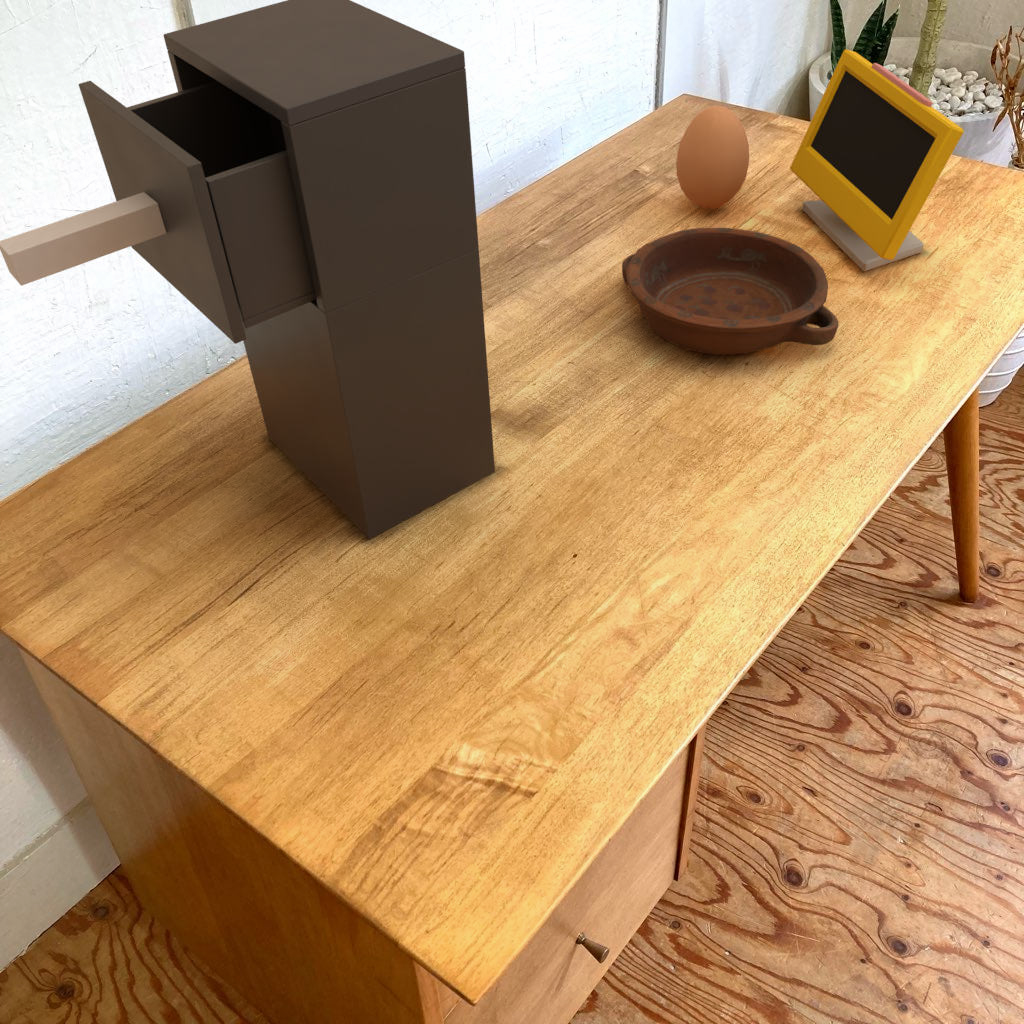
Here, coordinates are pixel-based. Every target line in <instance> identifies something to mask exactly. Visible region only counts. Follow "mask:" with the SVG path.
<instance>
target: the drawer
mask: <svg viewBox="0 0 1024 1024" xmlns="http://www.w3.org/2000/svg"><path fill="white" fill-rule="evenodd" d="M78 88H79V91H80V93H81V97H82V100H83V103H84V106H85V109H86V113H87V115H88V118H89V122H90V124H91V127H92V131H93V134H94V137H95V140H96V143H97V146H98V149H99V152H100V156H101V159H102V162H103V164H104V167H105V170H106V173H107V176H108V180H109V183H110V186H111V190H112V192H113V195H114V198H115V201H114V202H113V201H112V202H111V203H110V202H109V203H107V204H105V205H102V206H98V207H96V208H93V209H89V210H86V211H84V212H82V213H81V212H80V213H78V214H75V215H73V216H69V217H67V218H64V219H61V220H58V221H55V222H52V223H49V224H46V225H42V226H40V227H37V228H34V229H31V230H28V231H25V232H22V233H19V234H17V235H14V236H11V237H8V238H4V239H2V240H0V254H1V255H2V257H3V260H4V262H5V265H6V268H7V270H8V272H9V274H10V275H11V276H12V277H13V278H14V280H15V281H16V282H17V283H18V284H19V285H20V286H26V285H27V284H30V283H33V282H35V281H36V282H37V281H38V280H42V279H44V278H47V277H50V276H52V275H55V274H57V273H61V272H63V271H67V270H69V269H71V268H74V267H77V266H80V265H83V264H86V263H88V262H92V261H94V260H97V259H100V258H102V257H105V256H107V255H110V254H114V253H116V252H119V251H122V250H124V249H127V248H132V249H133V250H134V251H135V252H136V253H137V254H138V255H139V256H140V257H141V258H142V259H143V260H144V261H146V262H147V263H148V264H149V265H150V266H151V267H152V268H153V269H154V270H155V271H156V272H157V273H159V275H160V276H162V278H164V279H165V281H167V282H168V283H169V284H170V285H171V286H172V287H173V288H174V289H176V290H177V291H178V292H179V293H180V294H181V295H182V296H183V297H184V299H186V300H188V301H189V302H190V303H191V304H192V306H194V307H195V308H196V309H197V310H198V311H199V312H200V313H201V314H203V315H204V316H205V317H206V318H207V319H208V320H209V321H210V322H211V323H212V324H213V325H214V326H215V327H216V328H218V330H220V331H221V332H222V333H223V334H224V335H225V336H226V337H227V338H228V339H229V340H230V341H231V342H233V344H234V345H236V344H238V343H241V342H243V340H246V339H247V338H246V334H245V331H244V328H249V327H251V326H254V325H256V324H258V323H261V322H263V321H266V320H268V319H270V318H273V317H275V316H278V315H280V314H282V313H285V312H287V311H289V310H292V309H294V308H297V307H299V306H301V305H304V304H306V303H309V302H311V301H313V300H316V295H315V290H314V285H313V280H312V275H311V270H310V265H309V260H308V255H307V250H306V244H305V239H304V234H303V229H302V224H301V219H300V214H299V209H298V204H297V199H296V194H295V189H294V184H293V179H292V174H291V169H290V164H289V159H288V154H287V149H286V144H285V139H284V134H283V129H282V124H281V122H282V121H281V120H279V119H278V118H276V117H274V116H273V115H271V114H270V113H268V112H266V111H265V110H263V109H261V108H260V107H258V106H257V105H255V104H253V103H252V102H250V101H249V100H247V99H245V98H244V97H242V96H241V95H239V94H237V93H236V92H234V91H233V90H231V89H229V88H228V87H226V86H225V85H223V84H221V83H220V82H218V81H217V80H216V81H213V82H209V83H206V84H203V85H199V86H196V87H193V88H190V89H186V90H183V91H180V92H178V91H176V92H173V93H170V94H167V95H164V96H160V97H156V98H153V99H150V100H147V101H143V102H139V103H137V104H134V105H130V106H125V105H124V104H123V103H121V102H120V101H119V100H117V99H116V98H114V97H113V96H112V95H111V94H109V93H107V92H106V91H105V90H104V89H103V88H101V87H100V86H98V85H97V84H96V83H95V82H94V81H92V80H87V81H84V82H81V83H78Z"/></svg>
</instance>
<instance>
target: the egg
mask: <svg viewBox="0 0 1024 1024" xmlns="http://www.w3.org/2000/svg"><path fill="white" fill-rule="evenodd" d="M675 163H676V164H675V165H676V167H675V168H676V176H677V181H678V183H679V186H680V189H681V191H682V192H683V194H684V195H685V197H686V198H687V199H688V200H689V201H690V202H691V203H692V204H694V205H695V206H697V207H699V208H703V209H707V210H709V209H717V208H720V207H723V206H724V205H726V204H728V202H730V201H731V200H732V199H733V198H735V196H736V195H737V194H738V193H739V191H740V190H741V188H742V187H743V185H744V183H745V181H746V179H747V175H748V171H749V165H750V145H749V140H748V136H747V133H746V130H745V128H744V126H743V124H742V122H741V120H740V118H739V117H738V115H736V114H735V112H733V111H732V110H730V109H729V108H727V107H725V106H721V105H714V106H710V107H707V108H705V109H703V110H702V111H700V112H698V114H697V115H696V116H695V117H693V119H692V120H691V121H690V123H689V125H688V126H687V127H686V129H685V131H684V133H683V135H682V138H681V139H680V141H679V146H678V150H677V154H676V161H675Z"/></svg>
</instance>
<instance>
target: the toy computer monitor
mask: <svg viewBox="0 0 1024 1024" xmlns="http://www.w3.org/2000/svg"><path fill="white" fill-rule="evenodd" d="M933 104H934V102H933V101H932V100H930V99H929V97H926V96H925V95H923V94H922V93H921V92H919V91H918V90H916V89H915V88H914V87H912V86H911V85H909V84H908V83H907V82H905V81H904V80H903V79H901V78H900V77H899V76H896V75H895V74H894V73H892V72H891V71H890V70H889V69H887V68H886V67H884V66H883V65H881V64H879V63H876V62H873V63H872V62H870V61H869V60H868V59H866V58H864V57H863V56H862V55H860V53H858V52H856V51H853V50H850V49H847V48H846V49H844V50H843V51H842V53H841V56H840V58H839V60H838V62H837V64H836V67H835V69H834V71H833V73H832V75H831V78H830V80H829V81H828V83H827V86H826V88H825V90H824V93H823V94H822V97H821V99H820V101H819V104H818V106H817V108H816V110H815V112H814V114H813V116H812V118H811V121H810V123H809V125H808V127H807V130H806V132H805V135H804V136H803V138H802V141H801V143H800V145H799V147H798V149H797V151H796V153H795V156H794V158H793V160H792V162H791V164H790V166H789V169H790V171H791V172H792V173H793V174H794V175H795V176H797V178H798V179H799V180H800V181H802V183H803V184H805V186H806V187H807V188H808V189H810V191H811V192H812V193H814V194H815V195H816V196H817V197H818V198H819V200H817V199H815V200H805V201H803V202H802V208H801V210H802V211H803V212H804V213H805V214H806V215H807V216H808V217H809V218H810V219H811V220H812V221H813V222H814V223H815V224H816V226H818V227H819V229H821V231H823V232H824V234H826V235H827V236H828V237H829V238H830V239H831V240H832V241H833V243H835V245H837V246H838V247H839V248H840V249H841V251H843V253H845V255H846V256H847V257H849V259H850V260H851V261H853V263H854V264H855V265H856V266H857V267H859V269H860V270H861V271H862V272H867V271H870V270H873V269H876V268H880V267H882V266H885V265H888V264H890V263H894V262H897V261H900V260H903V259H906V258H908V257H912V256H915V255H918V254H921V253H922V252H923V249H924V242H923V241H922V240H920V238H918V237H917V236H916V235H915V234H914V233H913V232H911V229H912V227H913V225H914V223H915V222H916V220H917V218H918V216H919V214H920V212H921V210H922V209H923V207H924V205H925V203H926V202H927V200H928V198H929V196H930V194H931V193H932V190H933V189H934V187H935V185H936V183H937V182H938V179H939V178H940V176H941V175H942V172H943V171H944V169H945V167H946V165H947V163H948V162H949V159H950V158H951V156H952V154H953V153H954V150H955V149H956V148H957V145H958V144H959V141H960V140H961V138H962V137H963V134H964V129H963V128H962V127H961V126H960V125H958V124H956V123H955V122H954V121H952V120H951V119H950V118H948V117H947V116H945V115H944V114H943V113H941V112H940V111H938V110H937V109H935V108H934V107H933Z"/></svg>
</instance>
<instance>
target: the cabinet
mask: <svg viewBox="0 0 1024 1024" xmlns="http://www.w3.org/2000/svg"><path fill="white" fill-rule="evenodd" d="M163 39H164V43H165V47H166V51H167V55H168V59H169V62H170V66H171V70H172V74H173V78H174V82H175V84H176V89H177V92H180V91H183V90H186V89H190V88H193V87H196V86H199V85H203V84H206V83H209V82H213V81H216V80H217V81H218V82H220V83H221V84H223V85H225V86H226V87H228V88H229V89H231V90H233V91H234V92H236V93H237V94H239V95H241V96H242V97H244V98H245V99H247V100H249V101H250V102H252V103H253V104H255V105H257V106H258V107H260V108H261V109H263V110H265V111H266V112H268V113H270V114H271V115H273V116H274V117H276V118H278V119H279V120H281V121H282V122H281V124H282V129H283V134H284V139H285V144H286V149H287V154H288V159H289V164H290V169H291V174H292V179H293V184H294V189H295V194H296V199H297V204H298V209H299V214H300V219H301V224H302V229H303V234H304V239H305V244H306V250H307V255H308V260H309V265H310V270H311V275H312V280H313V285H314V290H315V295H316V300H313V301H311V302H309V303H306V304H304V305H301V306H299V307H297V308H294V309H292V310H289V311H287V312H285V313H282V314H280V315H278V316H275V317H273V318H270V319H268V320H266V321H263V322H261V323H258V324H256V325H254V326H251V327H249V328H244V331H245V334H246V338H247V339H246V340H243V341H242V342H243V346H244V350H245V353H246V357H247V360H248V361H247V362H248V364H249V368H250V372H251V376H252V380H253V384H254V387H255V391H256V395H257V399H258V403H259V407H260V412H261V414H262V417H263V422H264V427H265V429H266V434H267V437H268V440H270V441H271V442H272V443H273V444H274V445H275V446H276V448H278V449H279V450H280V451H281V452H282V453H283V454H284V455H285V456H286V457H287V458H288V459H289V461H291V462H292V464H294V465H295V467H297V468H298V470H299V471H301V473H302V474H304V476H305V477H306V478H307V479H308V480H309V481H310V482H312V484H314V485H315V487H316V488H318V490H320V492H322V494H323V495H324V496H325V497H326V498H327V499H328V500H330V502H331V503H333V505H334V506H336V508H337V509H338V510H339V511H340V512H341V513H342V514H343V515H344V516H345V517H346V518H347V519H348V520H349V521H350V522H351V523H352V524H353V525H354V526H355V527H356V528H357V529H358V530H359V531H360V532H361V533H362V534H363V535H364V536H365V537H366V538H367V539H368V540H372V539H373V538H375V537H377V536H379V535H380V534H383V533H384V532H386V531H388V530H390V529H392V528H394V527H396V526H397V525H399V524H401V523H402V522H404V521H406V520H408V519H410V518H412V517H415V515H417V514H419V513H421V512H423V511H425V510H427V509H429V508H431V507H433V506H434V505H435V504H438V503H439V502H442V501H443V500H445V499H447V498H448V497H449V498H450V497H451V496H453V495H454V494H457V493H458V492H460V491H461V490H464V489H465V488H467V487H469V486H471V485H473V484H475V483H476V482H478V481H480V480H482V479H484V478H485V477H488V476H489V475H491V474H493V473H495V472H496V466H495V465H496V464H495V454H494V453H495V452H494V437H493V426H492V411H491V398H490V396H491V395H490V385H489V384H490V383H489V371H488V357H487V346H486V345H487V342H486V341H487V340H486V329H485V316H484V302H483V301H484V300H483V288H482V273H481V260H480V259H481V258H480V249H479V248H480V247H479V246H480V245H479V232H478V219H477V207H476V191H475V178H474V177H475V176H474V166H473V165H474V163H473V153H472V152H473V150H472V139H471V138H472V137H471V122H470V110H469V96H468V83H467V82H468V81H467V71H466V69H467V68H466V59H465V58H466V56H465V51H464V50H462V49H460V48H458V47H456V46H453V45H451V44H449V43H447V42H445V41H442V40H440V39H438V38H436V37H433V36H432V35H429V34H427V33H425V32H422V31H420V30H417V29H415V28H413V27H411V26H409V25H406V24H404V23H402V22H400V21H398V20H395V19H393V18H391V17H389V16H386V15H384V14H382V13H380V12H378V11H375V10H373V9H370V8H368V7H366V6H364V5H362V4H359V3H357V2H355V1H353V0H284V1H279V2H276V3H272V4H268V5H265V6H261V7H258V8H254V9H250V10H247V11H243V12H239V13H236V14H231V15H228V16H224V17H221V18H218V19H214V20H211V21H207V22H203V23H200V24H199V23H198V24H196V25H192V26H189V27H185V28H181V29H178V30H174V31H170V32H166V33H164V34H163Z"/></svg>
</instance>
